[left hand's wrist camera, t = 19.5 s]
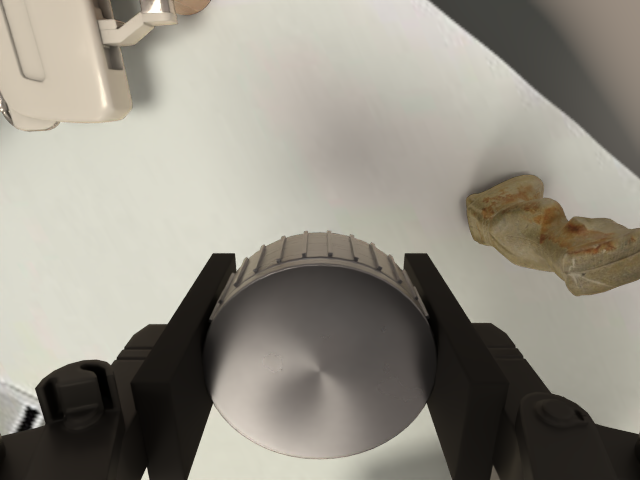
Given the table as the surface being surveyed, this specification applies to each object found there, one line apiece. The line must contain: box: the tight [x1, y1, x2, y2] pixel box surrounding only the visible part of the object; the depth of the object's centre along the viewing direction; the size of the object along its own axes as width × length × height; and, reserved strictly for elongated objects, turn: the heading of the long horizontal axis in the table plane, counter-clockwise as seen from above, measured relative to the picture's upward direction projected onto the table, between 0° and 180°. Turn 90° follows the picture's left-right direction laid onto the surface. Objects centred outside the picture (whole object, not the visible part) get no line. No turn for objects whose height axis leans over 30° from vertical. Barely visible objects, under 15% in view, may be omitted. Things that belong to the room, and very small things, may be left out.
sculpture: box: [466, 175, 640, 296], centre depth 31 cm, size 6×7×15 cm
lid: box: [202, 231, 438, 459], centre depth 11 cm, size 6×6×2 cm
